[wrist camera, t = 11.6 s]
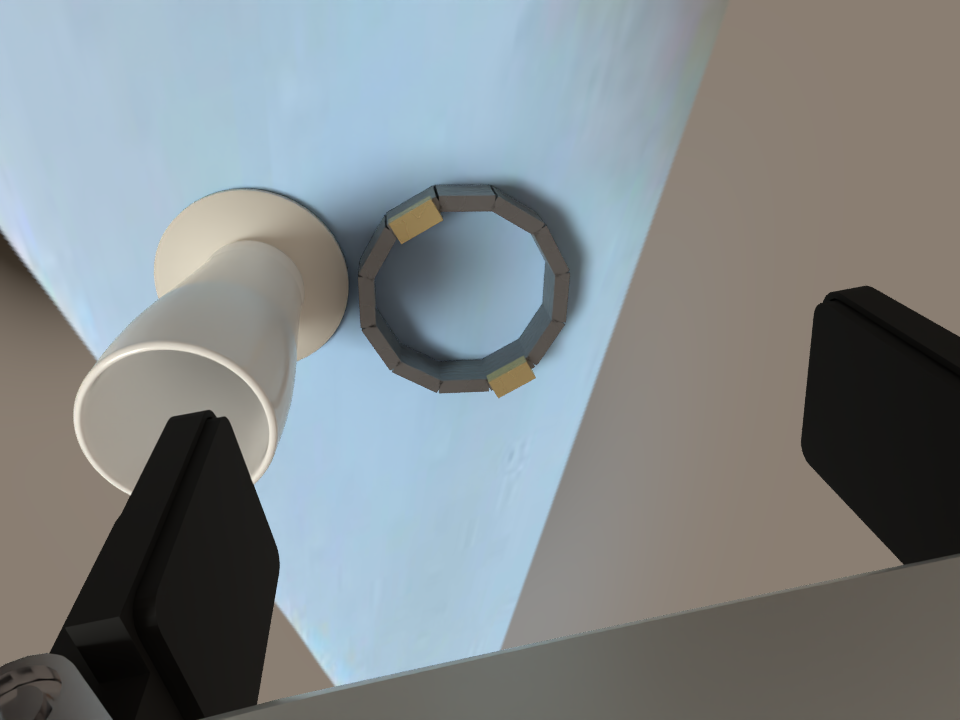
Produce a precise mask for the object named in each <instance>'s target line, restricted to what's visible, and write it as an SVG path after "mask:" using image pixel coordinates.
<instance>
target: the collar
mask: <svg viewBox="0 0 960 720" xmlns="http://www.w3.org/2000/svg"><path fill="white" fill-rule="evenodd" d="M465 211H493V212H494V213H496V214H498V215H500V216H501V217H503V218H505V219H506V220H508V221H510V222H512V223H513V224H515V225H517V226H518V227H520V228H522V229H524V230H525V231H527V232H529V233H530V234H531V235H532V237H533V239H534V241H535V243H536V245H537V246H538V248H539V250H540V252H541V254H542V256H543V258H544V260H545V273H544V287H543V302H542V305H541V306H540V308H539V309H538V311H537V312H536V314H535V315H534V317H533V318H532V320H531V321H530V323H529V324H528V326H527V327H526V329H525V330H524V332H523V333H522V335H521V336H520V338H519V339H518V340H516V341H514V342H512V343H511V344H509V345H507V346H505V347H503V348H501V349H500V350H498V351H496V352H494V353H492V354H491V355H489V356H487V357H485V358H483V359H481V360H456V361H437V360H435V359H433V358H431V357H429V356H427V355H425V354H423V353H421V352H418V351H416V350H414V349H412V348H410V347H408V346H406V345H404V344H402V343H400V342H399V340H398V339H397V337H396V336H395V334H394V333H393V332H392V330H391V329H390V327H389V326H388V324H387V323H386V321H385V320H384V318H383V317H382V315H381V314H380V313H379V311H378V310H377V308H376V292H375V276H376V275H377V273H378V271H379V269H380V267H381V266H382V264H383V262H384V260H385V259H386V257H387V255H388V253H389V251H390V250H391V248H392V246H393V244H394V243H395V241H396V239H397V238H398V240H399V241H400V243H401V244H403V243H405V242H406V241H408V240H410V239H412V238H413V237H415V236H417V235H418V234H420V233H422V232H424V231H425V230H427V229H429V228H431V227H432V226H434V225H436V224H437V223H439V222H441V221H443V218H442V215H441V213H440V212H465ZM386 214H387V216H386V215H384V216H383V218H382V220H381V222H380V224H379V226H378V227H377V229H376V231H375V233H374V235H373V236H372V238H371V240H370V242H369V244H368V246H367V247H366V249H365V251H364V253H363V255H362V257H361V258H360V262H359V271H358V288H359V305H360V323H361V328H362V332H363V333H364V334H365V336H366V337H367V339H368V340H369V342H370V343H371V344H372V346H373V347H374V349H375V350H376V351H377V353H378V354H379V356H380V357H381V358H382V360H383V361H384V363H385V364H386V366H387V367H388V368H389V370H392V372H393V373H395V374H397V375H399V376H401V377H404V378H406V379H408V380H410V381H412V382H414V383H417V384H419V385H421V386H423V387H425V388H427V389H429V390H432V391H434V392H436V393H437V391H438V390H439V393H460V392H484V391H489V388H490V389H491V391H492V390H494V392H495V394H496V395H497V397H498V398H500V397H502V396H503V395H505V394H507V393H509V392H511V391H513V390H515V389H516V388H518V387H520V386H522V385H524V384H526V383H528V382H529V381H531V380H533V379H535V378H536V377H535V375H534V372H533V370H532V368H534V367H535V366H534V364H536V365H537V364H538V363H539V362H540V360H541V359H542V357H543V356H544V354H545V353H546V351H547V350H548V348H549V347H550V346H551V344H552V343H553V341H554V340H555V338H556V337H557V335H558V334H559V332H560V331H561V330H562V328H563V327H564V325H565V324H564V322H566V314H567V302H568V290H569V279H570V273H569V269H568V267H567V265H566V263H565V261H564V259H563V257H562V255H561V253H560V251H559V249H558V247H557V245H556V243H555V241H554V239H553V237H552V235H551V233H550V231H549V230H548V228H547V226H546V224H545V223H544V222H543V221H542V219H541V218H540V217H539V216H538V214H537V213H536V212H535V211H533V210H532V209H530V208H528V207H527V206H525V205H523V204H522V203H520V202H518V201H517V200H515V199H513V198H512V197H510V196H508V195H507V194H505V193H503V192H502V191H500V190H498V189H497V188H495V187H493V186H491V187H490V186H489V185H435V189H434V187H433V186H431V187H429V188H428V189H426V190H424V191H422V192H421V193H419V194H417V195H416V196H414V197H412V198H410V199H409V200H407V201H405V202H404V203H402V204H400V205H399V206H397V207H395V208H393V209H392V210H390V211H388V212H387V213H386ZM533 363H534V364H533Z"/></svg>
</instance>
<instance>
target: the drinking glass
mask: <svg viewBox="0 0 960 720" xmlns="http://www.w3.org/2000/svg"><path fill="white" fill-rule="evenodd" d="M304 300H305V287H304V282H303V278H302V275H301V273H300V271H299V269H298V268H297V266H296V264H295V263H294V262H293V261H292V260H291V258H290V257H289V256H287V255H286V254H285V253H284V252H282V251H281V250H279V249H278V248H276V247H274V246H272V245H270V244H267V243H264V242H259V241H252V240H245V241H237V242H233V243H230V244H227V245H225V246H223V247H221V248H220V249H218V250H217V251H216V252H214V253H213V254H212V255H211V256H210V257H209V258H208V259H207V261H206V262H205V263H204V264H203V265H202V266H201V267H199V268H198V269H197V270H196V271H194V272H193V273H192V274H191V275H189V276H188V277H187V278H185V279H184V280H183V281H182V282H180V283H179V284H178V285H176V286H175V287H174V288H172V289H171V290H170V291H169V292H167V293H166V294H165V295H163V296H162V297H161V298H159V299H158V300H157V301H155V302H154V303H153V304H152V305H150V306H149V307H148V308H147V309H145V310H144V311H143V312H142V313H141V314H140V315H138V316H137V317H136V318H135V319H134V320H133V321H132V322H131V323H130V324H129V325H128V326H127V327H126V328H125V329H124V330H123V331H122V332H121V333H120V334H119V335H118V336H117V337H116V339H115V340H114V341H113V342H112V343H111V344H110V345H109V347H108V348H107V349H106V350H105V352H104V353H103V354H102V356H101V357H100V358H99V360H98V361H97V362H96V364H95V365H94V366H93V368H92V370H90V372H89V373H88V374H87V376H86V377H85V378H84V380H83V382H82V384H81V385H80V388H79V390H78V393H77V395H76V399H75V403H74V413H73V414H74V415H73V416H74V419H73V420H74V428H75V432H76V436H77V439H78V442H79V445H80V447H81V449H82V451H83V452H84V454H85V456H86V458H87V459H88V461H89V462H90V463H91V465H92V466H93V467H94V468H95V469H96V470H97V471H98V472H99V474H100V475H102V476H103V477H104V478H105V479H106V480H107V481H109V482H110V483H111V484H112V485H114V486H115V487H117V488H118V489H120V490H121V491H123V492H125V493H127V494H129V495H131V493H132V491H133V489H134V487H135V485H136V483H137V481H138V479H139V477H140V475H141V473H142V471H143V469H144V467H145V465H146V463H147V461H148V459H149V457H150V455H151V453H152V451H153V449H154V447H155V445H156V443H157V441H158V439H159V437H160V435H161V433H162V431H163V429H164V427H165V425H166V423H167V421H168V420H169V419H170V417H173V416H178V415H183V414H189V413H194V412H199V411H204V410H211V411H213V413H214V414H215V415H216V417H217V418H218V417H223V416H225V417H227V418H228V420H229V421H230V423H231V426H232V428H233V431H234V434H235V436H236V439H237V442H238V444H239V447H240V450H241V452H242V455H243V458H244V460H245V463H246V466H247V468H248V471H249V474H250V476H251V479H252V482H253V484H255V483H256V482H257V481H258V480H259V479H260V478H261V477H262V476H263V474H264V473H265V472H266V470H267V469H268V467H269V465H270V463H271V462H272V459H273V457H274V454H275V451H276V448H277V446H278V443H279V441H280V438H281V435H282V433H283V430H284V427H285V423H286V420H287V416H288V413H289V409H290V405H291V401H292V396H293V389H294V382H295V374H296V362H297V350H298V338H299V327H300V318H301V312H302V309H303V305H304Z"/></svg>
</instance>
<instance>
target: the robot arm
mask: <svg viewBox="0 0 960 720" xmlns="http://www.w3.org/2000/svg"><path fill="white" fill-rule="evenodd" d="M809 358H810V359H809V367H808V378H807V387H806V397H805V407H804V417H803V427H802V437H801V447H802V452H803V455H804V457H805V459H806V461H807V462H808V463H809V465H810V466H811V467H812V468H813V469H814V470H815V471H816V472H817V473H818V474H819V475H820V476H821V478H822V479H823V480H824V481H825V482H826V483H827V484H828V485H829V486H830V487H831V488H832V489H833V490H834V491H835V492H836V493H837V494H838V495H839V497H841V499H842V500H843V501H844V502H845V503H846V504H847V505H848V506H849V507H850V508H851V509H852V510H853V511H854V512H855V513H856V514H857V516H858V517H859V518H860V519H861V520H862V521H863V522H864V523H865V524H866V525H867V526H868V527H869V528H870V529H871V530H872V531H873V532H874V533H875V535H876V536H877V537H878V538H879V539H880V540H881V541H882V542H883V543H884V544H885V545H886V546H887V547H888V548H889V549H890V550H891V551H892V552H893V554H894V555H895V556H896V557H897V558H898V559H899V560H900V561H901V562H902V563H903V564H904V565H901V566H897V567H892V568H887V569H882V570H878V571H872V572H868V573H863V574H858V575H853V576H849V577H843V578H838V579H834V580H829V581H824V582H819V583H814V584H809V585H805V586H800V587H795V588H790V589H786V590H781V591H776V592H772V593H767V594H762V595H758V596H752V597H748V598H743V599H738V600H734V601H729V602H724V603H719V604H715V605H710V606H705V607H701V608H696V609H691V610H686V611H682V612H677V613H673V614H668V615H663V616H658V617H653V618H649V619H644V620H639V621H635V622H630V623H625V624H621V625H616V626H612V627H607V628H602V629H598V630H593V631H588V632H583V633H579V634H574V635H569V636H565V637H560V638H555V639H552V640H546V641H542V642H537V643H533V644H528V645H524V646H519V647H515V648H510V649H505V650H501V651H496V652H491V653H487V654H482V655H478V656H473V657H469V658H464V659H459V660H455V661H450V662H446V663H441V664H437V665H432V666H427V667H423V668H418V669H414V670H409V671H405V672H400V673H395V674H391V675H386V676H382V677H377V678H373V679H368V680H363V681H359V682H354V683H350V684H345V685H341V686H336V687H332V688H327V689H323V690H318V691H314V692H309V693H305V694H300V695H295V696H291V697H287V698H282V699H278V700H274V701H270V702H266V703H262V704H258V705H257V701H258V695H259V689H260V683H261V677H262V671H263V665H264V659H265V653H266V647H267V641H268V635H269V630H270V624H271V617H272V612H273V606H274V600H275V594H276V588H277V582H278V576H279V569H280V562H279V554H278V549H277V546H276V543H275V541H274V538H273V535H272V533H271V530H270V527H269V525H268V522H267V519H266V517H265V514H264V511H263V509H262V506H261V503H260V501H259V498H258V495H257V492H256V490H255V487H254V484H253V482H252V479H251V476H250V474H249V471H248V468H247V466H246V463H245V460H244V458H243V455H242V452H241V450H240V447H239V444H238V442H237V439H236V436H235V434H234V431H233V428H232V426H231V423H230V421H229V420H228V418H227V417H225V416H223V417H218V418H217V417H216V415H215V414H214V413H213V411H211V410H204V411H199V412H194V413H189V414H183V415H178V416H173V417H170V419H169V420H168V421H167V423H166V425H165V427H164V429H163V431H162V433H161V435H160V437H159V439H158V441H157V443H156V445H155V447H154V449H153V451H152V453H151V455H150V457H149V459H148V461H147V463H146V465H145V467H144V469H143V471H142V473H141V475H140V477H139V479H138V481H137V483H136V485H135V487H134V489H133V491H132V493H131V495H130V497H129V499H128V501H127V503H126V506H125V508H124V510H123V512H122V514H121V515H120V516H119V518H118V519H117V521H116V522H115V524H114V526H113V528H112V530H111V532H110V534H109V536H108V538H107V540H106V542H105V544H104V546H103V548H102V550H101V552H100V554H99V556H98V558H97V560H96V562H95V564H94V566H93V568H92V570H91V572H90V574H89V576H88V577H87V580H86V581H85V583H84V585H83V587H82V589H81V591H80V594H79V595H78V598H77V599H76V601H75V603H74V605H73V607H72V610H71V612H70V614H69V615H68V617H67V619H66V621H65V623H64V625H63V627H62V630H61V631H60V633H59V635H58V638H57V639H56V641H55V643H54V645H53V647H52V649H51V651H50V653H45V654H37V655H30V656H26V657H23V658H20V659H18V660H15V661H12V662H9V663H7V664H5V665H3V666H1V667H0V720H960V337H959V336H957V335H956V334H953V333H952V332H950V331H948V330H947V329H945V328H943V327H941V326H940V325H938V324H936V323H934V322H933V321H931V320H929V319H927V318H925V317H924V316H922V315H920V314H918V313H917V312H915V311H913V310H911V309H910V308H908V307H906V306H904V305H903V304H901V303H899V302H897V301H896V300H894V299H892V298H890V297H888V296H887V295H885V294H883V293H881V292H880V291H878V290H876V289H874V288H873V287H869V286H862V287H857V288H851V289H846V290H840V291H835V292H830V293H829V294H828V295H826V297H825V299H824V301H823V303H820V304H819V305H817V307H816V309H815V312H814V318H813V328H812V338H811V348H810V357H809Z"/></svg>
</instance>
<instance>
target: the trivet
mask: <svg viewBox="0 0 960 720" xmlns="http://www.w3.org/2000/svg"><path fill="white" fill-rule="evenodd" d="M245 240H252V241H259V242H264V243H267V244H270V245H272V246H274V247H276V248H278V249H279V250H281V251H282V252H284V253H285V254H286V255H287V256H289V257H290V258H291V260H292V261H293V262H294V263H295V264H296V266H297V268H298V269H299V271H300V273H301V275H302V278H303V282H304V287H305V300H304V305H303V309H302V312H301V318H300V327H299V338H298V350H297V361H299V360H301V359H303V358H305V357H307V356H309V355H310V354H312V353H313V352H315V351H316V350H318V349H319V348H320V347H321V346H322V345H324V344H325V343H326V342H327V341H328V339H329V338H330V337H331V336H332V335H333V334H334V332H335V331H336V329H337V327H338V326H339V324H340V322H341V320H342V318H343V315H344V312H345V309H346V305H347V299H348V292H349V277H348V270H347V265H346V262H345V258H344V255H343V253H342V250H341V248H340V246H339V244H338V242H337V241H336V239H335V237H334V236H333V234H332V233H331V232H330V230H329V229H328V228H327V226H326V225H325V224H324V223H323V222H322V221H321V220H320V219H319V218H318V217H317V216H316V215H314V214H313V213H312V212H311V211H309V210H308V209H307V208H305V207H304V206H302V205H300V204H299V203H297V202H295V201H293V200H291V199H289V198H287V197H285V196H282V195H279V194H276V193H273V192H269V191H264V190H259V189H246V188H241V189H229V190H224V191H219V192H216V193H213V194H210V195H207V196H205V197H203V198H201V199H199V200H197V201H195V202H194V203H192V204H191V205H189V206H188V207H187V208H185V209H184V210H183V211H182V212H181V213H180V214H179V215H178V216H177V217H176V218H175V219H174V220H173V221H172V222H171V224H170V225H169V226H168V228H167V229H166V230H165V232H164V234H163V236H162V238H161V240H160V242H159V245H158V248H157V251H156V256H155V262H154V279H155V287H156V291H157V294H158V298H161V297H162V296H163V295H165V294H166V293H167V292H169V291H170V290H171V289H172V288H174V287H175V286H176V285H178V284H179V283H180V282H182V281H183V280H184V279H185V278H187V277H188V276H189V275H191V274H192V273H193V272H194V271H196V270H197V269H198V268H199V267H201V266H202V265H203V264H204V263H205V262H206V261H207V259H208V258H209V257H210V256H211V255H212V254H213V253H214V252H216V251H217V250H218V249H220V248H221V247H223V246H225V245H227V244H230V243H233V242H237V241H245Z"/></svg>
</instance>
